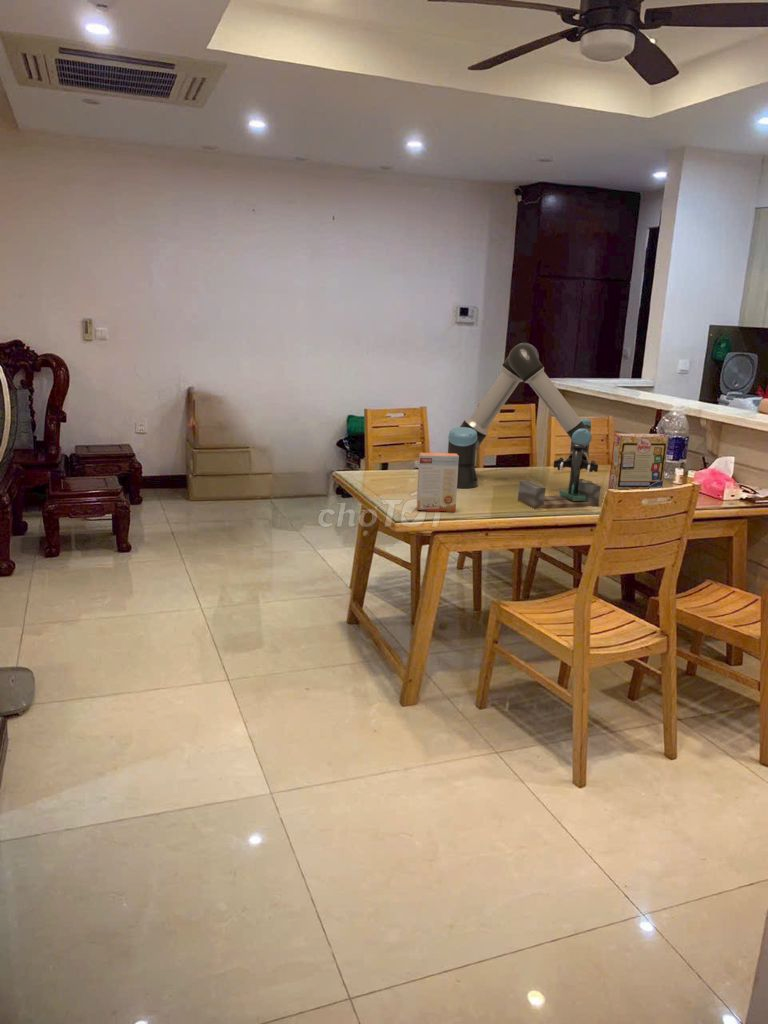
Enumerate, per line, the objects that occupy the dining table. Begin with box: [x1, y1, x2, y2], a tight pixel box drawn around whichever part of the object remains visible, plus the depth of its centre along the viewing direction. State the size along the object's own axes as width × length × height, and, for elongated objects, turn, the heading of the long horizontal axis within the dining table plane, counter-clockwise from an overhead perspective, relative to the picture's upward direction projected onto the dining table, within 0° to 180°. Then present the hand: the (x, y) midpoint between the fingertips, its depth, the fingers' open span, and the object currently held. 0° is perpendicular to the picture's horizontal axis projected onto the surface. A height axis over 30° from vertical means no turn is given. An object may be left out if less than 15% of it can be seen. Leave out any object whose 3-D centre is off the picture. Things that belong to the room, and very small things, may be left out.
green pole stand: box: [558, 443, 587, 501], centre depth 294 cm, size 6×10×21 cm, turn 18°
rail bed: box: [517, 478, 601, 510], centre depth 294 cm, size 28×13×8 cm, turn 108°
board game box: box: [607, 433, 670, 490], centre depth 301 cm, size 20×6×27 cm, turn 98°
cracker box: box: [416, 452, 459, 513], centre depth 275 cm, size 14×6×21 cm, turn 92°
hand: (574, 469), depth 289 cm, fingers open, 9 cm apart
